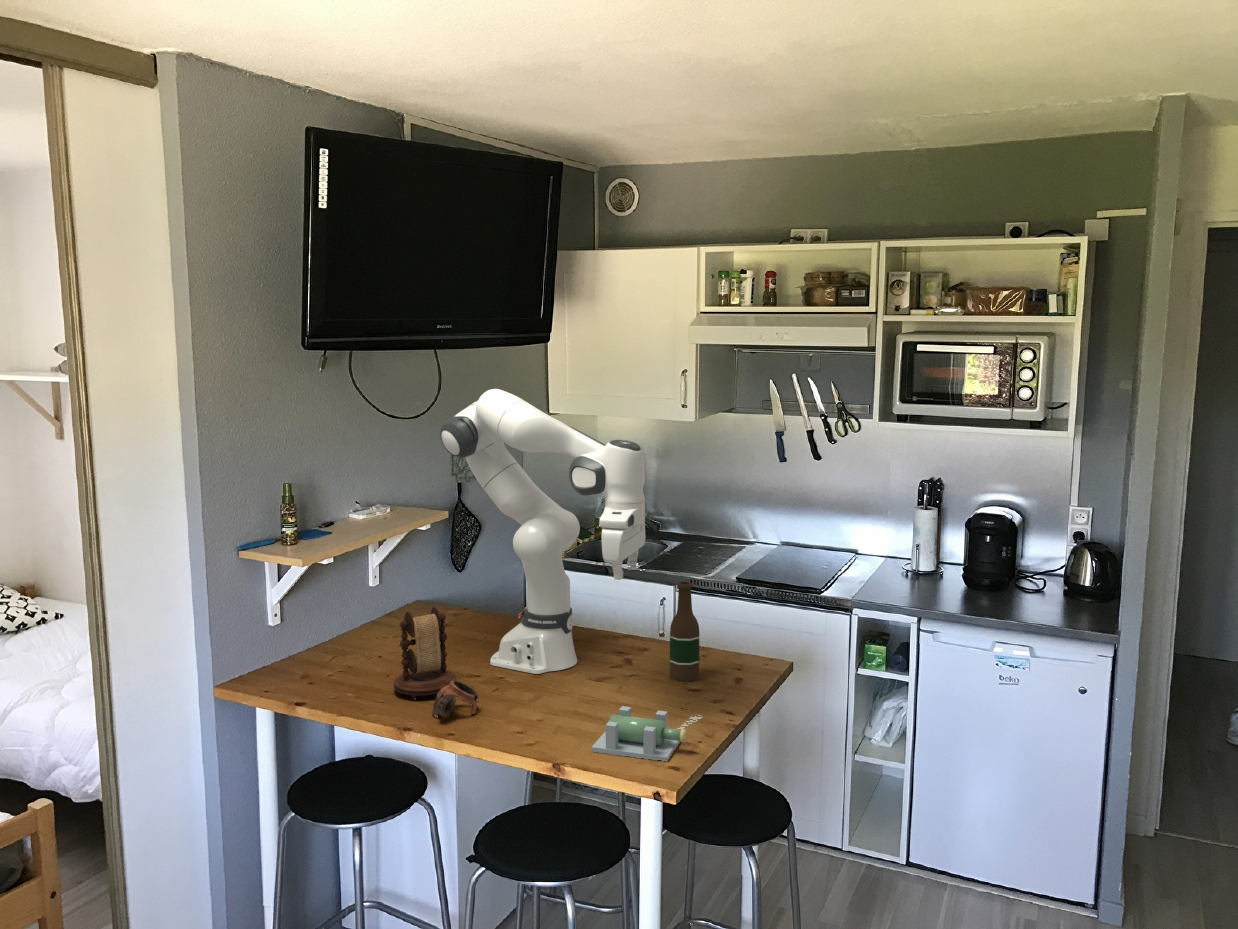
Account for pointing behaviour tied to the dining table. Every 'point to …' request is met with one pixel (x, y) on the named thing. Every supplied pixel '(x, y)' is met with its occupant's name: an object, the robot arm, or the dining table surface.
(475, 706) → the brown ring shaped device
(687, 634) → the beer bottle
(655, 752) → the rest
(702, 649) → the dining table surface
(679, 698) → the dining table surface
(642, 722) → the bottle
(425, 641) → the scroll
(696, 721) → the butter knife
